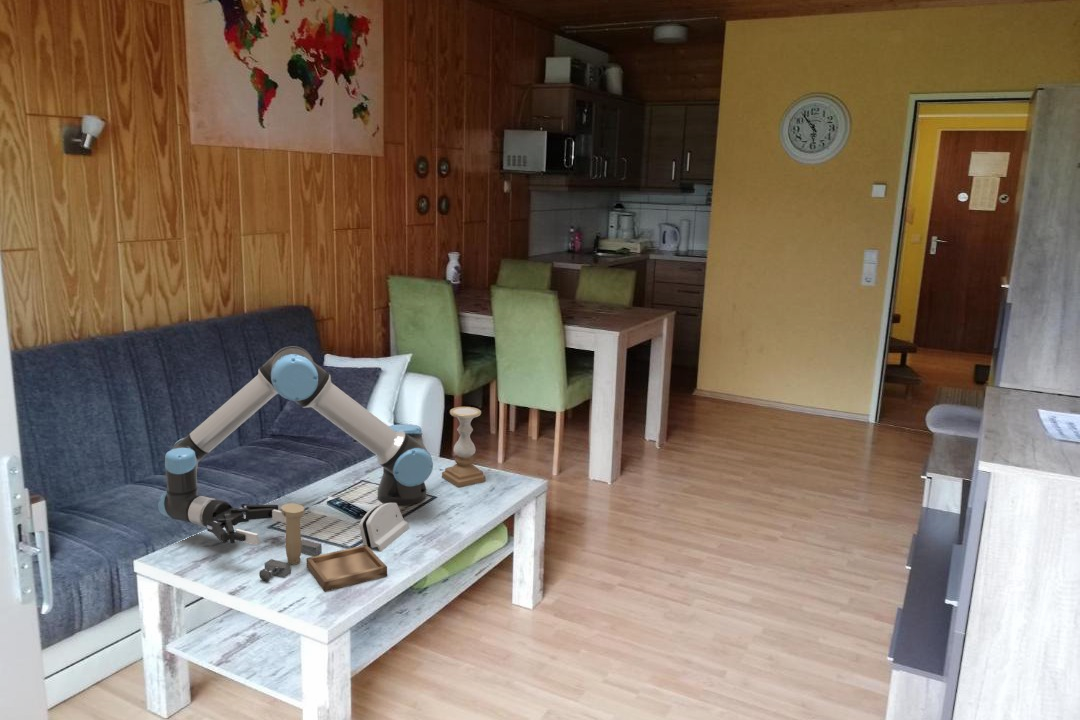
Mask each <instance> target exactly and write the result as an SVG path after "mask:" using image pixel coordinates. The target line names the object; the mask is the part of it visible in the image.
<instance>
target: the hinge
mask: <svg viewBox="0 0 1080 720" xmlns="http://www.w3.org/2000/svg"><path fill="white" fill-rule="evenodd" d="M358 527H359V531H360V535H361V538H362V544H363V545H367V546H368V547H369V548H371V549H373V548H378V551H379V552H382V551H383V550H385V549H386V548H387V547H389V546H390V545H391V544H392V543H393V542H395V541H396V540H397V539H398V538H400V537H401V536H403V534H405V533H406V532H407V531H408V530H409V529H410V525H409V522H407V520H404V518H403V514H402V513H401V510H400V508H399V505H397V503H381V504H379V505H376V506H374V507H372V508H371V509H369V510H368V511H367V512H366V513H365V515H364V516H363V517H362V518H361V520H360V522H359V524H358Z"/></svg>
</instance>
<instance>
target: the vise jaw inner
mask: <svg viewBox="0 0 1080 720" xmlns="http://www.w3.org/2000/svg"><path fill="white" fill-rule="evenodd" d="M301 541H302V547H301V554H304V555H306V556H307V555H308V556H310V557H313V556H318V555H321V554H323V551H322V543H318V542H315V541H310V540H308V539H301Z"/></svg>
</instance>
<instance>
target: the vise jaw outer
mask: <svg viewBox="0 0 1080 720" xmlns="http://www.w3.org/2000/svg"><path fill="white" fill-rule="evenodd" d="M291 566H292V564H289V563H288V562H284V561H280V560H276V559H274V558H273V559H271V558H270V559H268V560H267V561H266V562H264V568H262V569H261V570H260V571H259V573H258V575H259V578H260V580H261V581H263V582H268V581H270V580H271V578H272V576H273V575H274V576H277V577H281V578H284V579H285V578H286V577H287V576H290V574H291V573H292V567H291Z"/></svg>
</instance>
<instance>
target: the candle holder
mask: <svg viewBox="0 0 1080 720" xmlns="http://www.w3.org/2000/svg"><path fill="white" fill-rule="evenodd" d="M449 414H450V415H451V417H455V418H457V420H458V421H459V426H458V427H457V428H456V431H457V432H458V434H459V438H458V440H457V441H456V442H455V443H454V446H453V453H454V455H455V458H454V462H455V464H454V465H452V466H450V467H446V468H445V469H444V471H442V472H441V479H444V480H445V481H446V482H448V483H450V484H451V485H453V486H454V487H456V488H464V487H467V486H474V485H476V484H481V483H485V482H486V481H487V480H486V475H485V474H484V472H483V471H482V470H480V469H479V468H478V467H476V466H475V465H474V464H473V462H474V457H473V456H474V454H476V446H475V444H474V442H473V441H472V439H471V434H472V432H473V431H474V428H473V427H472V425H471V422H472V420H473V419H474V418H478V417H479V416H481V414H482V410H480V409H479V408H477V407H473V406H472V407H471V406H458V407H457V406H456V407H453V408H451V409H450V410H449Z"/></svg>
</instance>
